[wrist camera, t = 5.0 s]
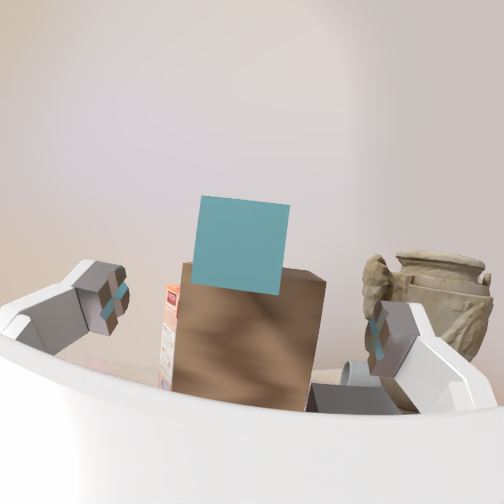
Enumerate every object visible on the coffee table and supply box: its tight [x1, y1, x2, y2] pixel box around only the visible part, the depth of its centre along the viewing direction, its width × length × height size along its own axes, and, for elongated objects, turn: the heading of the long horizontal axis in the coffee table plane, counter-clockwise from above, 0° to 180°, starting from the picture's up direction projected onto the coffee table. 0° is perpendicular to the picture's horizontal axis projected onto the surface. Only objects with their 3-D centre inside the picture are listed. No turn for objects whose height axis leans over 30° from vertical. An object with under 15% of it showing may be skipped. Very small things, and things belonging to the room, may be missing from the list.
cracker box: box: [159, 285, 180, 391], centre depth 47 cm, size 14×6×21 cm, turn 123°
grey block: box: [305, 383, 403, 415], centre depth 23 cm, size 7×8×16 cm
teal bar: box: [191, 196, 290, 295], centre depth 24 cm, size 3×26×3 cm, turn 175°
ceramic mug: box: [340, 360, 383, 388], centre depth 62 cm, size 11×8×8 cm
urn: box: [362, 250, 493, 415], centre depth 39 cm, size 24×18×30 cm
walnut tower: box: [172, 262, 326, 412], centre depth 26 cm, size 9×12×26 cm
